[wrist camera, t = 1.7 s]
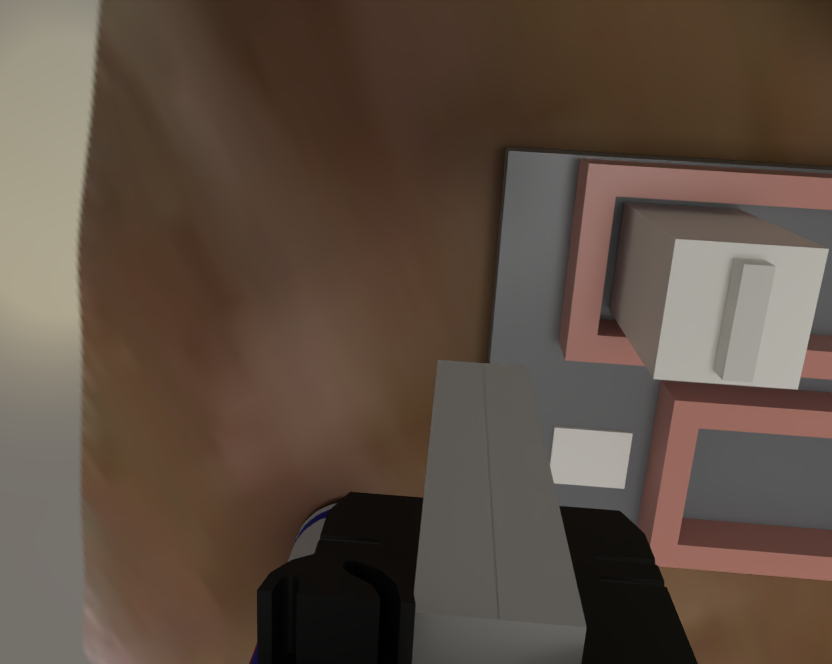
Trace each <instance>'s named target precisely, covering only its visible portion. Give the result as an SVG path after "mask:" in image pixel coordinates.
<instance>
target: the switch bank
mask: <svg viewBox="0 0 832 664" xmlns="http://www.w3.org/2000/svg"><path fill="white" fill-rule="evenodd" d="M624 202H636V203H652V204H668V205H684V206H700V207H715V208H731V209H741V210H743V211H745V212H747V213H750V214H752V215H754V216H756V217H759V218H761V219H763V220H765V221H768V222H770V223H772V224H774V225H777V226H779V227H781V228H783V229H786V230H788V231H790V232H792V233H794V234H797V235H799V236H801V237H803V238H806V239H808V240H810V241H812V242H815V243H817V244H819V245H821V246H824V247H826V248H828V249H829V251H828V256H827V260H826V265H825V269H824V274H823V278H822V283H821V287H820V292H819V296H818V301H817V305H816V310H815V314H814V319H813V323H812V328H811V332H810V337H809V341H808V346H807V350H806V355H805V359H804V364H803V368H802V373H801V377H800V382H799V386H798V390H796V389H782V388H768V387H755V386H741V385H727V384H714V383H700V382H686V381H672V380H659V379H653V378H652V376H651V375H650V373H649V372H648V370H647V368H646V367H645V365H644V364H643V362H642V361H641V359H640V357H639V356H638V354H637V353H636V351H635V350H634V348H633V347H632V345H631V343H630V342H629V340H628V339H627V337H626V336H625V334H624V332H623V331H622V329H621V328H620V326H619V325H618V323H617V322H616V320H615V318H614V317H613V315H612V314H611V312H610V304H611V296H612V289H613V282H614V274H615V267H616V260H617V252H618V245H619V238H620V230H621V223H622V216H623V209H624ZM487 363H489V364H502V365H516V366H528V371H529V375H530V380H531V384H532V388H533V393H534V397H535V402H536V406H537V410H538V415H539V419H540V424H541V428H542V433H543V437H544V441H545V446H546V450H547V455H548V459H549V463H550V468H551V472H552V477H553V481H554V486H555V490H556V494H557V499H558V503H559V506H568V507H581V508H593V509H606V510H618V511H621V512H622V513H623V514H624V515H625V516H626V517H627V518H628V519H630V520H631V521H632V522H633V523H634V524H635V525H636V526H637V527H638V528H639V529H640V530H641V531H642V532H644V533H645V535H646V538H647V540H648V543H649V545H650V548H651V550H652V552H653V555H654V557H655V565H658V566H660V567H672V568H684V569H696V570H708V571H720V572H733V573H745V574H757V575H769V576H781V577H793V578H805V579H817V580H829V581H832V166H819V165H802V164H786V163H769V162H753V161H736V160H720V159H703V158H686V157H670V156H653V155H637V154H620V153H604V152H587V151H571V150H554V149H538V148H521V147H506V152H505V164H504V175H503V186H502V198H501V209H500V221H499V232H498V243H497V255H496V266H495V277H494V289H493V300H492V311H491V323H490V334H489V346H488V357H487Z"/></svg>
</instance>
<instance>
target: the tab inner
mask: <svg viewBox="0 0 832 664" xmlns="http://www.w3.org/2000/svg"><path fill="white" fill-rule="evenodd" d="M828 251H829V249H828V248H826V247H824V246H821V245H819V244H817V243H815V242H812V241H810V240H808V239H806V238H803V237H801V236H799V235H797V234H794V233H792V232H790V231H788V230H786V229H783V228H781V227H779V226H777V225H774V224H772V223H770V222H768V221H765V220H763V219H761V218H759V217H756V216H754V215H752V214H750V213H747V212H745V211H743V210H741V209H731V208H715V207H700V206H684V205H668V204H652V203H636V202H624V209H623V216H622V223H621V230H620V238H619V245H618V252H617V260H616V267H615V274H614V282H613V289H612V296H611V304H610V312H611V314H612V315H613V317H614V318H615V320H616V322H617V323H618V325H619V326H620V328H621V329H622V331H623V332H624V334H625V336H626V337H627V339H628V340H629V342H630V343H631V345H632V347H633V348H634V350H635V351H636V353H637V354H638V356H639V357H640V359H641V361H642V362H643V364H644V365H645V367H646V368H647V370H648V372H649V373H650V375H651V376H652V378H653V379H659V380H672V381H686V382H700V383H714V384H727V385H741V386H755V387H768V388H782V389H796V390H798V386H799V382H800V377H801V373H802V368H803V364H804V359H805V355H806V350H807V346H808V341H809V337H810V332H811V328H812V323H813V319H814V314H815V310H816V305H817V301H818V296H819V292H820V287H821V283H822V278H823V274H824V269H825V265H826V260H827V256H828Z"/></svg>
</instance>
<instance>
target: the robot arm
mask: <svg viewBox="0 0 832 664" xmlns="http://www.w3.org/2000/svg"><path fill="white" fill-rule="evenodd" d="M257 641H258V664H698V663H697V661H696V658H695V656H694V653H693V651H692V648H691V646H690V644H689V641H688V639H687V636H686V634H685V631H684V629H683V626H682V624H681V621H680V619H679V616H678V614H677V612H676V609H675V607H674V604H673V602H672V599H671V597H670V594H669V592H668V589H667V587H664V580H663V577H662V575H661V572H660V570H659V567H658V565H655V557H654V555H653V552H652V550H651V548H650V545H649V543H648V540H647V538H646V535H645V533H644V532H642V531H641V530H640V529H639V528H638V527H637V526H636V525H635V524H634V523H633V522H632V521H631V520H630V519H628V518H627V517H626V516H625V515H624V514H623V513H622V512H621V511H618V510H606V509H593V508H581V507H568V506H559V503H558V499H557V494H556V490H555V486H554V481H553V477H552V472H551V468H550V463H549V459H548V455H547V450H546V446H545V441H544V437H543V433H542V428H541V424H540V419H539V415H538V410H537V406H536V402H535V397H534V393H533V388H532V384H531V380H530V375H529V371H528V366H516V365H502V364H489V363H475V362H461V361H447V360H438V362H437V372H436V381H435V391H434V401H433V411H432V420H431V430H430V440H429V450H428V459H427V469H426V479H425V488H424V498H420V497H407V496H395V495H382V494H369V493H357V492H350V493H349V494H347V495H346V496H345V497H344V498H343V499H342V500H340V501H339V502H338V503H337V504H336V505H335V506H333V507H332V508H331V509H330V510H329V511H328V513H327V516H326V519H325V522H324V525H323V528H322V531H321V534H320V540H318V543H317V546H316V549H315V552H314V554H311V555H307V556H304V557H300V558H296V559H293V560H291V561H289V562H287V563H286V564H284V565H282V566H281V567H279V568H277V569H276V570H274V571H272V572H271V573H270V574H269V575H268V576H267V578H266V579H265V580H264V582H263V583H262V584H261V586H260V587H259V588H258V590H257Z"/></svg>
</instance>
